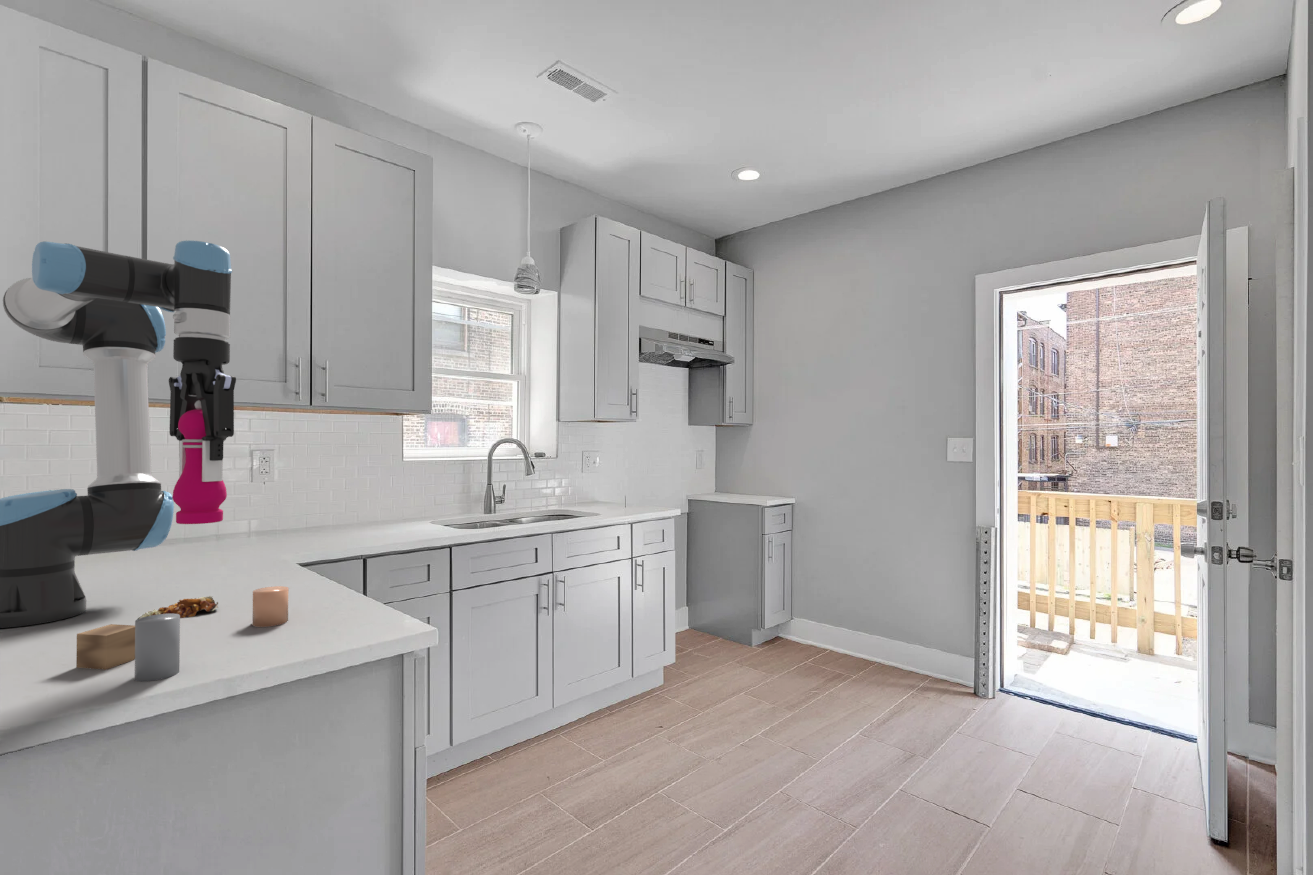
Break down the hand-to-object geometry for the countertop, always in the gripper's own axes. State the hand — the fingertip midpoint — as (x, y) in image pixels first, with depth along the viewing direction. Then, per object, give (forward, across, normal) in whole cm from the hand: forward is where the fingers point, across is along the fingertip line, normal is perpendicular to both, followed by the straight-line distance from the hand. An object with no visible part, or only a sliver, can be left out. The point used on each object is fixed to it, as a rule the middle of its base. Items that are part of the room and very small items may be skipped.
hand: (200, 480), depth 104 cm
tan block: (+27, -3, -11) cm, 29 cm away
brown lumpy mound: (+27, -22, +10) cm, 36 cm away
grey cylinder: (+27, +9, -11) cm, 30 cm away
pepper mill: (+7, 0, 0) cm, 7 cm away
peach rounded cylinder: (+27, -1, +13) cm, 30 cm away
